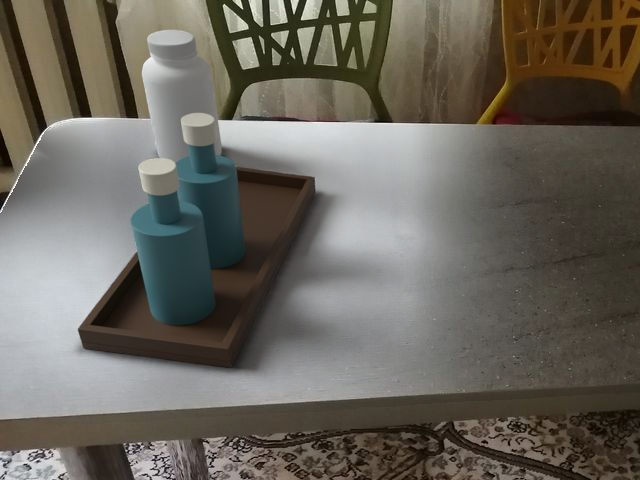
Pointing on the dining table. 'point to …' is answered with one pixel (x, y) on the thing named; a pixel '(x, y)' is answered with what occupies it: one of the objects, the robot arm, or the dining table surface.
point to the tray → (229, 283)
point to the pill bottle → (176, 90)
